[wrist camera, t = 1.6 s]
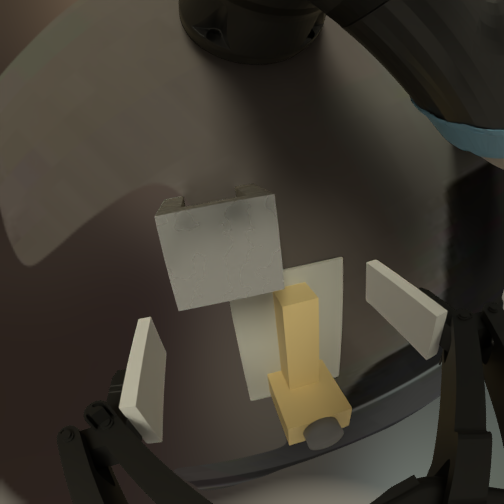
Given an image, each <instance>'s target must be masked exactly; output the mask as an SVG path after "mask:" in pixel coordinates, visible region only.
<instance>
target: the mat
mask: <svg viewBox="0 0 504 504" xmlns="http://www.w3.org/2000/svg"><path fill="white" fill-rule="evenodd" d="M283 276H284V287H286V286H290V285H294V284H299V283H303V282H306V284H307V285H308V286H309V287H310V288H311V289H312V291H313V292H314V293H315V294H316V295H317V297H318V298H319V360H320V359H322V360H323V362H324V364H325V365H326V367H327V369H328V370H329V372H330V373H331V375H332V377H333V378H335V377H337V376H339V367H340V353H341V335H342V308H343V257H337V258H332V259H328V260H323V261H319V262H315V263H310V264H306V265H301V266H296V267H292V268H287V269H283ZM229 303H230V308H231V313H232V318H233V322H234V328H235V333H236V337H237V342H238V347H239V351H240V356H241V360H242V365H243V370H244V374H245V379H246V383H247V388H248V392H249V396H250V400H251V401H253V400H258V399H262V398H266V397H270V396H271V394H270V390H269V383H268V377H267V374H270V373H274V372H278V371H281V364H280V355H279V346H278V337H277V328H276V319H275V310H274V301H273V293H272V292H269V293H265V294H260V295H256V296H251V297H246V298H242V299H237V300H232V301H229Z"/></svg>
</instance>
